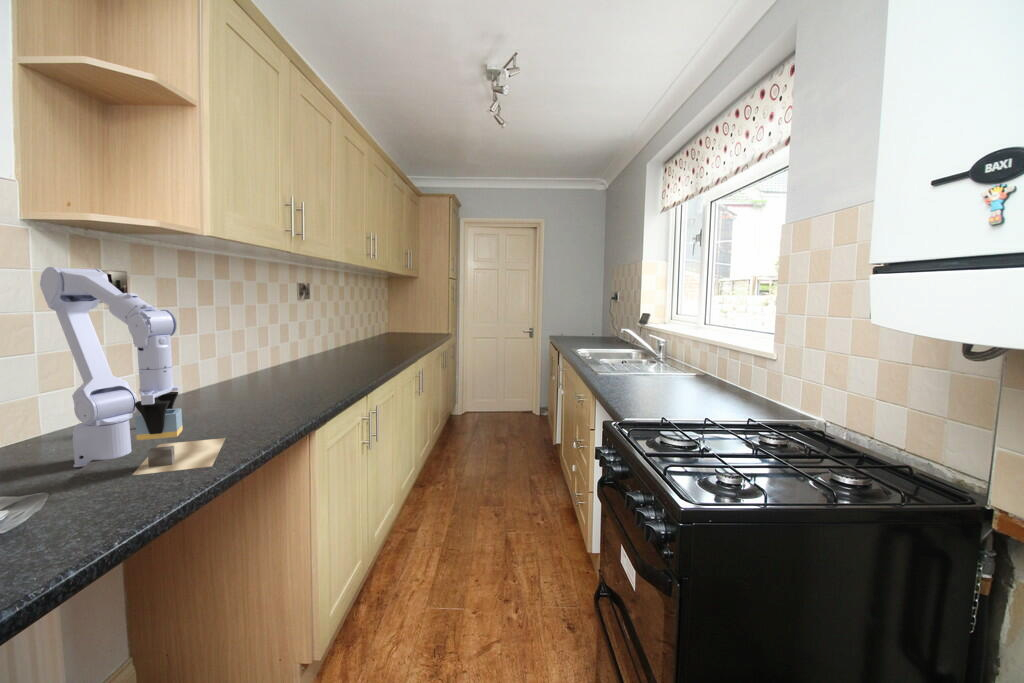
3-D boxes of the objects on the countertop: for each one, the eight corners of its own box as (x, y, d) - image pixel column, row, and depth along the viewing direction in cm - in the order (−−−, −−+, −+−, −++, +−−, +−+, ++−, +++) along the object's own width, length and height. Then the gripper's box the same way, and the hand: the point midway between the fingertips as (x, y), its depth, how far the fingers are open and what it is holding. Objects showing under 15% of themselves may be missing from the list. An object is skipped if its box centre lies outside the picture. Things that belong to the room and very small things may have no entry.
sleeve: (177, 436, 100) (175, 414, 100) (136, 440, 97) (135, 416, 97) (182, 429, 105) (181, 408, 104) (144, 433, 102) (142, 410, 101)
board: (132, 481, 96) (130, 458, 95) (159, 449, 114) (157, 430, 113) (212, 471, 101) (211, 450, 101) (225, 442, 120) (225, 424, 119)
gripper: (169, 372, 94) (173, 437, 96) (186, 361, 107) (189, 418, 109) (126, 374, 91) (131, 441, 93) (148, 362, 105) (152, 421, 106)
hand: (159, 429), depth 101 cm, fingers closed on sleeve, 5 cm apart
